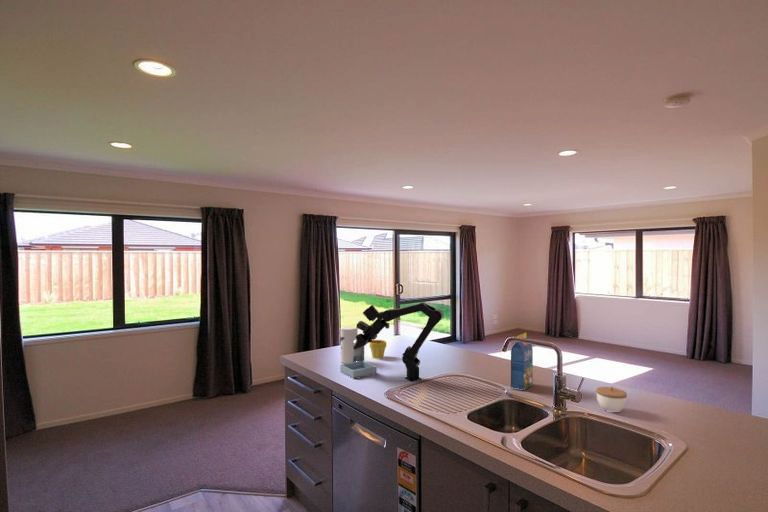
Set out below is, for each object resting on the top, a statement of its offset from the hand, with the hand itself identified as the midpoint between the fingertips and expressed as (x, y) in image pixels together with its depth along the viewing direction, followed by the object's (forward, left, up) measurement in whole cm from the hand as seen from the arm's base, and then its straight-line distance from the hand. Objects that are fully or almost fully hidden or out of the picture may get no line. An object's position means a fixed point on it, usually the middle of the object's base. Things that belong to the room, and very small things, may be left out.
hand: (356, 347), depth 207 cm
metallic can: (-1, -1, -7) cm, 7 cm away
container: (+23, -8, -14) cm, 28 cm away
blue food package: (-62, -55, -14) cm, 84 cm away
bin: (0, -1, -14) cm, 14 cm away
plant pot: (+21, -27, -14) cm, 37 cm away
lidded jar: (-100, -61, -14) cm, 118 cm away
